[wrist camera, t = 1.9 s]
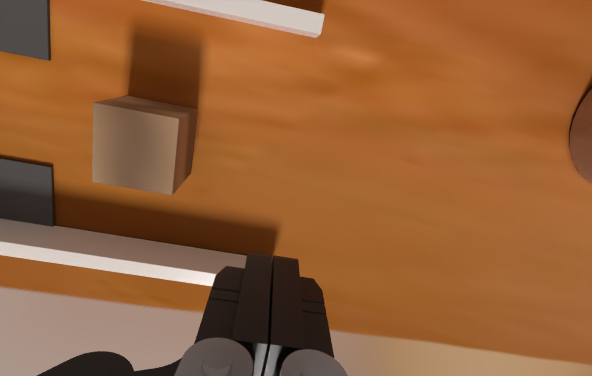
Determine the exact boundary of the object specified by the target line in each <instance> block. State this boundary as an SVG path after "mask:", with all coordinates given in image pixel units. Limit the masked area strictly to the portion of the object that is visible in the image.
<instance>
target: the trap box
mask: <svg viewBox="0 0 592 376" xmlns="http://www.w3.org/2000/svg"><path fill="white" fill-rule="evenodd" d="M143 1H148V2H152V3H157V4H161V5H166V6H171V7H175V8H180V9H184V10H189V11H194V12H198V13H203V14H207V15H212V16H217V17H221V18H226V19H231V20H235V21H240V22H244V23H249V24H254V25H258V26H263V27H267V28H272V29H277V30H281V31H286V32H291V33H295V34H300V35H304V36H309V37H314V38H317V37H318V36H319V35H320V34H321V30H322V25H323V20H324V15H325V14H321V13H316V12H312V11H307V10H303V9H298V8H294V7H289V6H285V5H280V4H276V3H271V2H267V1H262V0H143ZM0 51H3V52H9V53H14V54H19V55H24V56H29V57H34V58H39V59H44V60H50V21H49V0H0ZM0 255H5V256H11V257H18V258H25V259H32V260H38V261H45V262H52V263H59V264H66V265H72V266H79V267H86V268H93V269H99V270H106V271H113V272H120V273H126V274H133V275H140V276H147V277H153V278H160V279H167V280H174V281H180V282H187V283H194V284H201V285H207V286H213V282H214V279H215V276H216V274H217V273H219V272H220V271H221V270H222V269H223V268H224V267H226V266H232V267H238V268H245V264H246V258H247V256H245V255H239V254H233V253H226V252H220V251H213V250H207V249H201V248H194V247H188V246H182V245H175V244H169V243H163V242H156V241H150V240H143V239H137V238H131V237H124V236H118V235H112V234H105V233H99V232H92V231H86V230H80V229H73V228H67V227H61V226H54V190H53V167H51V166H46V165H40V164H34V163H28V162H22V161H16V160H11V159H5V158H0Z"/></svg>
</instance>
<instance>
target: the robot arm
mask: <svg viewBox="0 0 592 376" xmlns="http://www.w3.org/2000/svg"><path fill="white" fill-rule="evenodd" d="M570 152H571V157H572V160H573V162H574V164H575V166H576V168H577V170H578V171H579V172H580V173H581V174H582V176H583V177H584V178H585V179H587V180H589V181H590V182H592V89H591V90H590V91H589V92H588V94H587V95H586V97H585V98H584V100H583V101H582V103H581V104H580V106H579V108H578V110H577V112H576V115H575V117H574V119H573V123H572V127H571V131H570ZM37 376H347V374H346V372H345V370H344V368H343V367H342V366H341V365H340V363H338V362H337V361H336V360H335V359H334V354H333V349H332V343H331V337H330V332H329V326H328V320H327V317H326V309H325V306H324V298H323V292H322V290H321V288H320V287H319V286H318V284H317V283H316V282H315V280H314V279H312V278H305V277H300V275H299V263H298V259H293V258H287V257H281V256H273V259H272V255H267V254H261V253H254V252H247V258H246V264H245V268H238V267H232V266H226V267H224V268H223V269H222V270H221V271H220V272H219V273H217V274H216V276H215V279H214V282H213V286H212V290H211V292H210V295H209V299H208V302H207V305H206V308H205V311H204V314H203V318H202V321H201V324H200V327H199V331H198V334H197V337H196V340H195V343H194V345H192V346H191V347H190V348H189V349H188V350H187V351H186V352H185V353H184V355H183V357H182V358H181V359H179V360H178V361H176V362H174V363H172V364H170V365H166V366H164V367H159V368H154V369H147V370H140V371H134V370H133V367H132V365H131V363H130V362H129V361H128V360H127V359H126V358H125V357H123V356H121V355H119V354H116V353H113V352H105V351H104V352H103V351H102V352H100V351H98V352H90V353H85V354H82V355H79V356H76V357H74V358H72V359H69V360H67V361H66V362H63V363H61V364H59V365H57V366H55V367H53V368H51V369H49V370H47V371H46V372H43V373H41V374H39V375H37Z"/></svg>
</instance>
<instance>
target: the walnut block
mask: <svg viewBox="0 0 592 376" xmlns="http://www.w3.org/2000/svg"><path fill="white" fill-rule="evenodd" d="M197 111H198V109H195V108H190V107H185V106H180V105H174V104H169V103H164V102H159V101H154V100H149V99H143V98H138V97H133V96H123V97H118V98H113V99H108V100H104V101H99V102H94V103H93V164H92V182H97V183H103V184H109V185H114V186H120V187H126V188H132V189H138V190H144V191H150V192H156V193H162V194H167V195H173V194H174V192H175V191H176V190H177V189H178V188H179V187H180V185H181V184H182V183H183V182H184V181H185V179H186V178H187V177H188V176H189V175H190V174H191V167H192V158H193V148H194V139H195V130H196V120H197Z"/></svg>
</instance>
